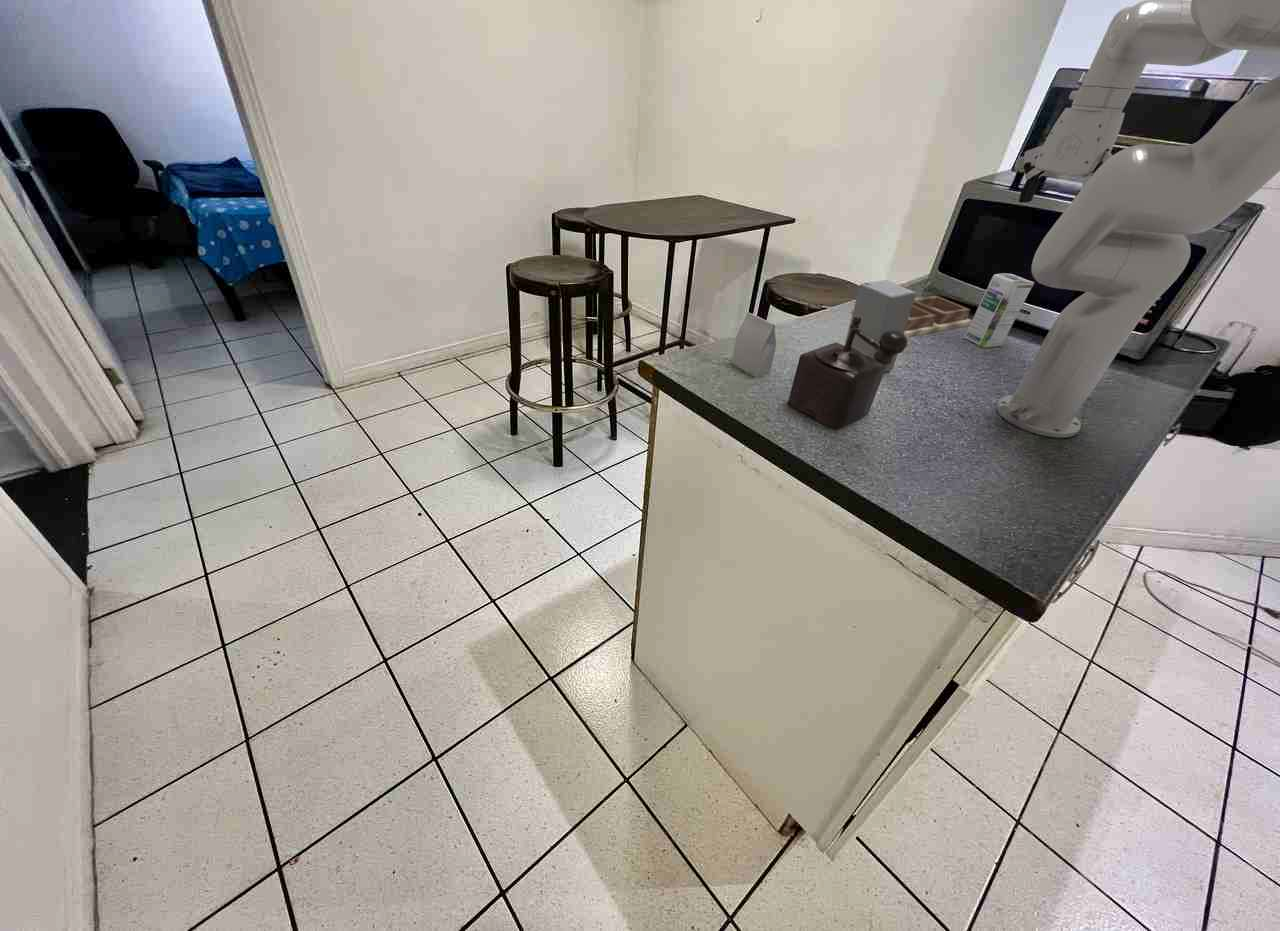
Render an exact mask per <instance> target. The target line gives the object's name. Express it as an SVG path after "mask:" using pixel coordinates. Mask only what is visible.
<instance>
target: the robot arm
mask: <svg viewBox="0 0 1280 931" xmlns="http://www.w3.org/2000/svg"><path fill="white" fill-rule="evenodd" d="M1234 50H1238V51H1240V50H1241V51H1256V52H1257V51H1258V52H1275V53H1280V0H1142V1H1140V2H1137V3H1136V4H1135V5H1133V6H1127V7H1124V8H1122V9H1120V10H1119V11H1118V12H1116V13H1115V15H1114V16H1113V18H1112V20H1111V21H1110V22H1109V25H1108V28H1107V30H1106V32H1105V34H1104V36H1103V38H1102V41H1101V42H1100V45H1099V48H1098V49H1097V50H1096V51H1097V52H1096V53H1095V55H1094V58H1093V60H1092V62H1091V65H1090V66H1089V69H1088V71H1087V73H1086V75H1085V77H1084V79H1083V82H1082V83H1081V85H1080V86H1079V88H1078V89H1077V90H1071V92H1070V94H1069V96H1068V99H1069V100H1072V102H1071V106H1070V107H1065V108H1064V110H1063V111H1062V113H1061V114H1060V116H1059V117H1058V119H1057V120H1056V121H1055V124H1054V125H1053V127H1052V128H1051V130H1050V132H1049V133H1048V135H1047V137H1046V139H1045V141H1044V142H1043V143H1042V145H1039V146H1037V147H1035V148H1034V147H1033V148H1031V149H1028V150H1026V151H1025V152H1024V153H1023V154H1024V155H1023V163H1024V165H1023V170H1024V174H1025V176H1024V178H1025V179H1026V180H1025V183H1024V185H1023V188H1022V190H1021V192H1020V194H1019V198H1018V202H1019V203H1021V204H1022V203H1023V204H1024V203H1031V202H1032V200H1033V198H1034V196H1035V193H1036V192H1037V189H1038V187H1039V186H1040V183H1041V179H1040V178H1041V177H1042V176H1043V175H1045V174H1046V173H1051V174H1057V175H1062V176H1067V177H1075V178H1080V180H1081V184H1082V188H1081V189H1079V190H1078V191H1077V192H1076V195H1075V196H1074V198H1073V199H1072V201H1071V202H1070V204H1069V205H1067V207H1066V209H1065V210H1064V211H1063V212H1062V213H1061V215H1060V217H1059V218H1058V219H1057V220H1056V222H1055V223H1054V224H1053V226H1052V227H1051V228H1050V229H1049V231H1048V232H1047V233H1046V235H1045V236H1044V237H1043V239H1042V241H1041V242H1040V244H1039V246H1038V247H1037V249H1036V251H1035V253H1034V255H1033V256H1034V257H1033V259H1032V263H1031V274H1032V277H1033V278H1034V280H1035V281H1036V282H1038V284H1041V285H1043V286H1045V287H1050V288H1054V289H1061V290H1062V289H1063V290H1070V291H1080V292H1084V293H1082V294H1081V295H1080V296H1078V297H1077V298H1075V299H1074V300H1073V301H1071V302H1070V303H1068V305H1067V306H1066V307H1065V308H1063V310H1061V312H1060V313H1059V314H1058V316H1057V317H1056V318H1055V320H1054V322H1053V324H1052V325H1051V327H1050V329H1049V331H1048V333H1047V334H1046V336H1045V338H1044V339H1043V342H1042V343H1041V345H1040V347H1039V348H1038V350H1037V353H1036V354H1035V356H1034V358H1033V359H1032V361H1031V363H1030V364H1029V366H1028V368H1027V369H1026V372H1025V374H1024V375H1023V377H1022V379H1021V380H1020V382H1019V383H1018V386H1017V388H1016V390H1015V391H1014V393H1013V394H1011V395H1009V394H1008V395H1005V396H1002V397H1001V398H999V400H998V402H997V404H996V411H997V413H998V414H999V416H1001V417H1002V418H1003V419H1004V420H1006V421H1007V422H1009V423H1011V424H1012V425H1013V426H1016V427H1018V428H1020V429H1022V430H1024V431H1027V432H1031V433H1032V434H1035V435H1038V436H1039V435H1040V436H1043V437H1049V438H1050V437H1051V438H1058V439H1061V438H1064V439H1065V438H1070V437H1074V436H1075V435H1077V434H1078V433H1079V431H1080V430H1081V428H1082V424H1081V421H1080V420H1079V419H1078V418H1077V414H1078V413H1079V412H1080V410H1081V408H1082V407H1083V406H1084V404H1085V403H1086V401H1087V399H1088V398H1089V396H1090V395H1091V394H1092V392H1093V390H1094V389H1095V387H1096V386H1097V384H1098V383H1099V381H1100V380H1101V379H1102V378H1103V376H1104V374H1105V373H1106V371H1107V369H1108V368H1109V366H1110V365H1111V363H1112V362H1113V361H1114V359H1115V358H1116V356H1117V355H1118V352H1119V351H1120V350H1121V348H1122V347H1123V345H1124V344H1125V343H1126V341H1127V339H1128V338H1129V337H1130V335H1131V334H1132V332H1133V331H1134V329H1135V328H1136V326H1137V325H1138V323H1139V322H1140V321H1141V320H1142V318H1144V316H1145V314H1146V313H1147V312H1148V311H1149V310H1150V308H1152V306H1153V305H1154V304H1155V303H1156V302H1157V301H1158V300H1159V298H1160V297H1162V295H1163V294H1164V293H1166V292H1167V290H1169V288H1170V287H1171V286H1172V285H1173V283H1175V282H1176V281H1177V279H1178V278H1179V277H1180V275H1181V274H1182V273H1183V272H1184V270H1185V269H1186V267H1187V265H1188V264H1189V261H1190V257H1191V244H1190V242H1189V240H1188V239H1187V238H1186V236H1185V235H1197V234H1201V233H1204V232H1206V231H1210V230H1211V229H1213V228H1215V227H1217V226H1218V225H1219V224H1221V223H1222V222H1224V220H1226V219H1227V218H1229V216H1231V215H1232V214H1233V213H1234V212H1236V211H1237V210H1238V209H1239V208H1240V207H1241V206H1243V204H1245V203H1246V202H1247V201H1248V200H1249V199H1250V198H1252V196H1254V195H1255V194H1256V193H1257V192H1258V191H1260V190H1261V189H1262V187H1263V186H1265V185H1266V184H1267V183H1268V182H1270V180H1272V179H1273V178H1274V177H1275V176H1276V175H1277V174H1278V173H1280V75H1278V76H1276V77H1274V78H1272V79H1271V80H1268V81H1267V82H1265V83H1264V84H1261V86H1259V87H1257V88H1256V89H1254V90H1252V91H1251V92H1250V93H1248V94H1247V95H1245V96H1244V97H1242V98H1240V100H1238V101H1237V102H1236V103H1234V104H1233V105H1232V106H1231V107H1230V108H1229V109H1228V110H1227V111H1226V112H1225V113H1224V114H1223V115H1222V116H1221V117H1220V118H1219V119H1218V120H1217V121H1216V123H1215V124H1214V125H1213V126H1212V128H1210V129H1209V131H1207V133H1205V135H1203V136H1202V137H1201V138H1200V139H1199V140H1197V141H1196V142H1194V143H1191V144H1189V145H1183V146H1181V145H1179V146H1178V145H1169V144H1167V145H1166V144H1156V143H1154V144H1153V143H1152V144H1151V143H1147V144H1145V143H1143V144H1137V145H1136V144H1135V145H1133V146H1132V145H1131V146H1130V147H1126V148H1123V149H1121V150H1119V151H1118V152H1116V153H1114V155H1113V154H1112V150H1113V148H1114V146H1115V143H1116V141H1117V139H1118V136H1119V133H1120V131H1121V129H1122V128H1121V127H1122V124H1123V121H1124V118H1125V114H1126V113H1125V112H1123V110H1124V108H1125V107H1126V104H1127V103H1128V100H1130V97H1131V95H1132V93H1133V91H1134V89H1135V88H1136V85H1137V84H1138V82H1139V79H1140V77H1141V76H1142V74H1143V72H1144V69H1145V67H1146V66H1147V65H1159V66H1160V65H1162V66H1176V67H1178V66H1179V67H1192V66H1196V65H1198V66H1199V65H1201V64H1204V63H1207V62H1210V61H1212V60H1215V59H1216V58H1219V57H1221V56H1224V55H1226V54H1229V53H1230V52H1232V51H1234Z"/></svg>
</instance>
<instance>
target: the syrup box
mask: <svg viewBox="0 0 1280 931" xmlns="http://www.w3.org/2000/svg"><path fill="white" fill-rule="evenodd" d="M1034 284H1035V281H1032V280H1028V279H1025V278H1024V277H1021V276H1018V275H1016V274H1013V273H1005V272H1004V273H1002V272H1001V273H996V274H993V276H992V277H991V279H990V281H989V284H988V286H987V288H986V291H985V292H984V294H983V297H982V298H981V301H980V304H979V305H978V306H977V309H976V311H975V314H974V316H973V318H972V319H971V320H972V322H971V324H970V325H968V326H969V327H968V328H967V330H966V333H965V334H964V339H966V340H968V341H970V342H972V343H973V344H976V345H977V346H979V347H981V348H993V347H1001V346H1002V345H1003V343H1004V342H1005V340H1006V338H1007V336H1008V334H1009V332H1010V330H1011V328H1012V326H1013V325H1014V322H1015V321H1016V319H1017V317H1018V315H1019V313H1020V311H1021V309H1022V307H1023V305H1024V303H1025V301H1026V299H1027V298H1028V295H1029V293H1030V292H1031V289H1032V288H1033V287H1034Z"/></svg>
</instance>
